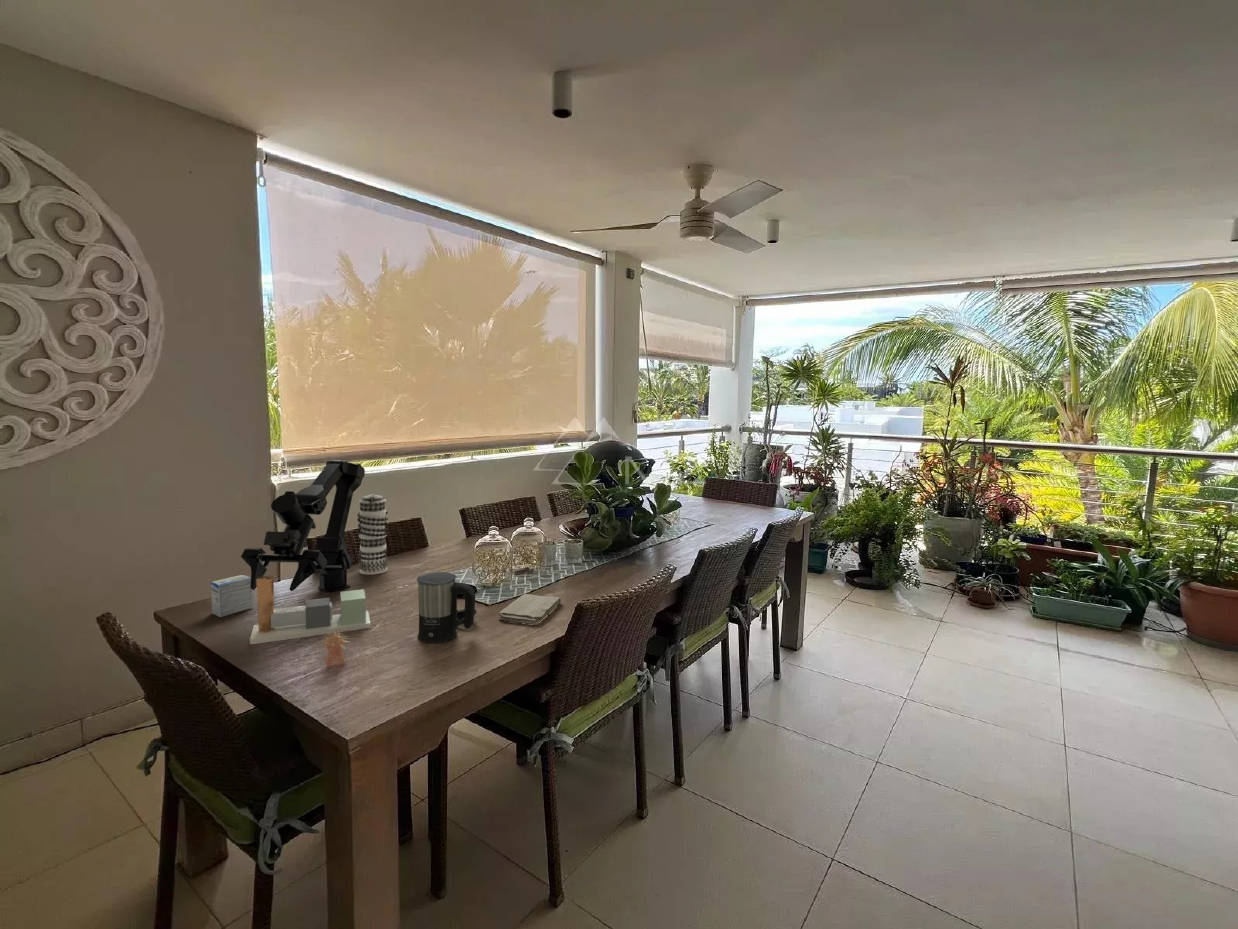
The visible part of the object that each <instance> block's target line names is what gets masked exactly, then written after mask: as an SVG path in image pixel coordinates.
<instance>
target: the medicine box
mask: <svg viewBox="0 0 1238 929" xmlns="http://www.w3.org/2000/svg"><path fill="white" fill-rule="evenodd" d="M210 590H211V591H210V595H211V596H210V597H211V598H210V599H211V612H212V614H213V615H214V616H216V617H219V618H223V617H226V616H229V615H233V614H237V613H239V612H243V611H247V610H251V609H253V594H252V593H253V590H252V589H251V576H248V575H245V574H244V575H243V574H239V575H234V576H230V577H227V578H222V579H218V580H213V581H211V582H210Z"/></svg>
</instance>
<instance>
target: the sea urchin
mask: <svg viewBox="0 0 1238 929" xmlns="http://www.w3.org/2000/svg"><path fill="white" fill-rule="evenodd" d="M351 631H352V630H351ZM351 631H349V632H350V633H351ZM336 632H337V631H336ZM336 632H335V633H334V632H332V633H330V634H327V633H326V634H325V635H326V638H325V641H324V639H322V640H319V645H320V644H321V645H323V648H324V649H325V650H324V655H323V656H322V657H321V660H322V661H323V666H324V667H326V668H329V667H330V668H333V666H335V668H339V669H340V668H341V666H343V664H347V662H348V663H349V660H347V657H348V655H346V653H345V647H346V646H345V645H346V644H347V643H349V641H347V639H348V640H354V639H355V638H353V637H352V635H350V636H349V635H347V634H348V633H345V635H344V633H343V632H337V633H336ZM346 635H347V636H346ZM346 637H347V638H346ZM349 637H352V638H349ZM316 638H317V639H318V638H320V637H316ZM320 642H321V643H320ZM315 643H317V641H314V644H315ZM353 647H356V646H354V645H353ZM316 651H317V652H319V649H318V650H316ZM318 659H320V657H319V658H317V660H318Z"/></svg>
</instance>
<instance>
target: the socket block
mask: <svg viewBox="0 0 1238 929" xmlns="http://www.w3.org/2000/svg"><path fill="white" fill-rule="evenodd" d="M339 594H340V614H341V624H342V625H350V624H357V623H365V622H366V611H367V610H366V609H367V608H366V607H367V606H366V602H367V601H366V599H367V598H366V592H365V589H363V588H362V589H355V590H345V591H340V593H339Z"/></svg>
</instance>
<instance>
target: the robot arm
mask: <svg viewBox="0 0 1238 929" xmlns="http://www.w3.org/2000/svg"><path fill="white" fill-rule="evenodd" d="M365 475H366V470H365V468H364V466H362V464H360V463H356V462H355V463H353V462H348V461H347V460H344V459H329V460H327V462H326V463H325V466H324V468H323V469H322V470H321V471H320V473H319V474H318V475H317V477H316V478H315V479H314V480H313V481H312V483H311V485H309V486H307V487H304V488H301V489H300V490H299V491H297V493H295V491H290V490H289V491H288V490H286V491H284V494H282V495H279V496H277V497H276V498H275V499H274V500H272V501H271V503H270V508H271V510H272V511H273V512H274V514H275V515H276V517H277V518H278V519H279V521H281V523H282V524H283V525H285V528H284V530H283V531H272V530H271V531H270V530H269V531H266V532H265V534H264V535H265V536H264V541H263V545H264V546H266V545H267V546H269V549H270V551H271V552H273V553H266V551H265V550H264V549H263V548H262V547H247V548H245V549H243V551H242V553H241V555H240V558H241V559H242V560H243V561H244V562H245V563H246V564H247V565H248V566H249V567H250V578H251V589H252V591H254V590H256V589H257V580H256V579H257V578H259V577H264V575H265V574H266V572H267V570H268V569H267V567H268V566H269V564H270V563H296V564H298V565H297V568H296V572H295V574H294V577H293V579H292V581H291V582H290V587H289V591H290V592H294V591H295V590H296V589H297V588H298V587H299V586H300V585H301V584H302V583H304V581H306V580H307V579H308V578H310V577H311V576H312V575H314V574H315V573H319V571H320V574H319V577H318V578H319V579H318V582H319V585H318V586H317V589H319V590H323V591H325V592H328V593H333V592H336V591H340V590H344V589H348V588H351V584H348V581H347V580H348V574H347V572H348V570H349V569H351V566H352V564H353V558H352V556H351V555H350V553H349V552H348V551H347V550H348V545H347V542H346V541H345V538H344V536H345V531H346V527H347V522H348V517H349V513H350V510H351V509H350V508H351V504H352V499H353V495H354V492H355V491H356V490H357V489H359V487H360V486H361V484H362V482H363V480H364V479H363V478H364V477H365ZM334 487H335V488H336V489H335V493H334V496H333V497H334V498H333V502H332V506H331V510H330V515H329V519H328V523H327V527H326V532H325V534H324V535H323V536H322V537H317V539H316V543H315V548H314V549H304V548H307V547H308V542H307V539H308V537H309V535H310V532H311V530H312V529H313V530H314V529H315V530H316V523H315V521H314V518H312V516H315V515H316V516H318V515H319V516H320V515H321V514H322V513H323V512H324V511H325V509H326V506H327V504H328V501H327V497H328V495H329V493H330V492H331V491H332V489H333V488H334ZM311 515H312V516H311ZM303 549H304V550H303Z"/></svg>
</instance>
